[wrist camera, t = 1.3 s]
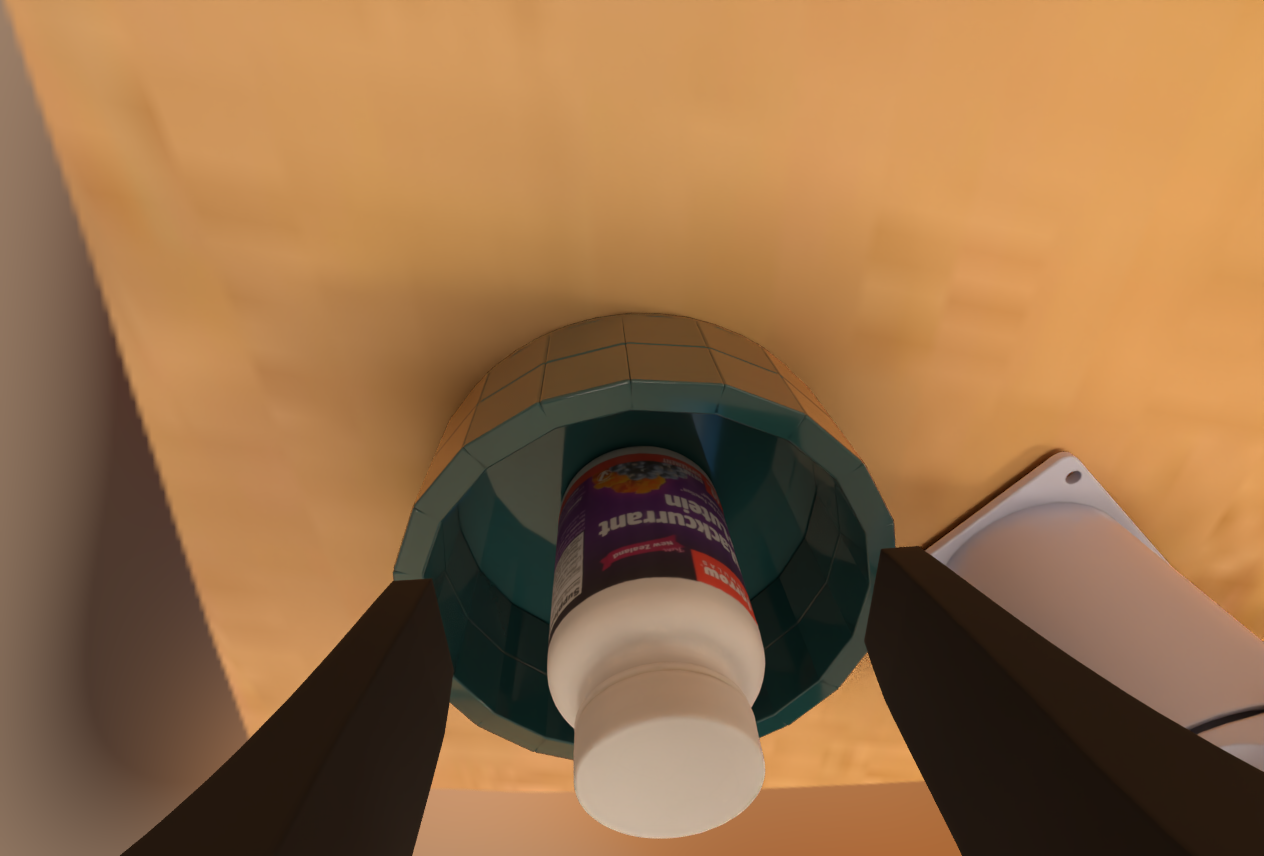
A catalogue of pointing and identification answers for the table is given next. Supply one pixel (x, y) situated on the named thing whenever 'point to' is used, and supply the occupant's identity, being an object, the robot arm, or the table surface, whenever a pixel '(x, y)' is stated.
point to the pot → (659, 417)
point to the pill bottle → (654, 647)
